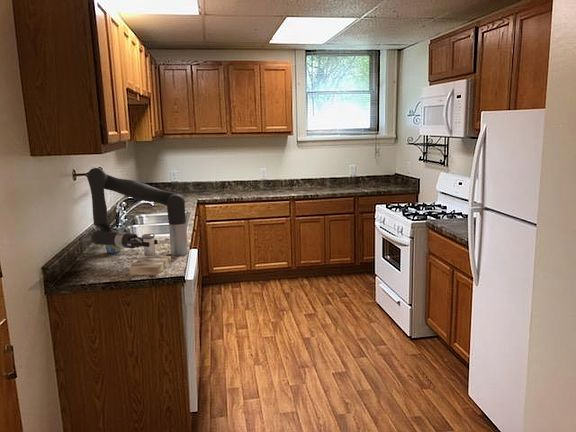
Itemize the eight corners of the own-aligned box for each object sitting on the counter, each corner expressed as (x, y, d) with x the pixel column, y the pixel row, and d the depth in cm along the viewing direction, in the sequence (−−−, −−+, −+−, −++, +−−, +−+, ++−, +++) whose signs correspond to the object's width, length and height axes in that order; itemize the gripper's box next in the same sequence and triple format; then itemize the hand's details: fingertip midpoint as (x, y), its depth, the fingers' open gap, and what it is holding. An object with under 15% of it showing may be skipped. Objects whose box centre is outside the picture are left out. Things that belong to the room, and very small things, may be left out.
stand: (144, 263, 236) (143, 255, 235) (171, 263, 235) (170, 255, 234) (130, 274, 218) (129, 265, 218) (158, 274, 217) (158, 265, 216)
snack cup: (131, 251, 263) (129, 233, 261) (118, 255, 253) (116, 237, 251) (110, 248, 269) (108, 232, 267) (96, 253, 259) (94, 235, 257)
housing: (146, 253, 228) (144, 233, 227) (157, 253, 228) (156, 233, 226) (141, 256, 223) (140, 236, 221) (153, 256, 222) (151, 236, 220)
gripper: (115, 235, 223) (142, 239, 216) (136, 230, 236) (162, 232, 229) (116, 250, 224) (143, 254, 217) (137, 244, 237) (163, 247, 230)
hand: (153, 243), depth 223 cm, fingers closed on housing, 5 cm apart
